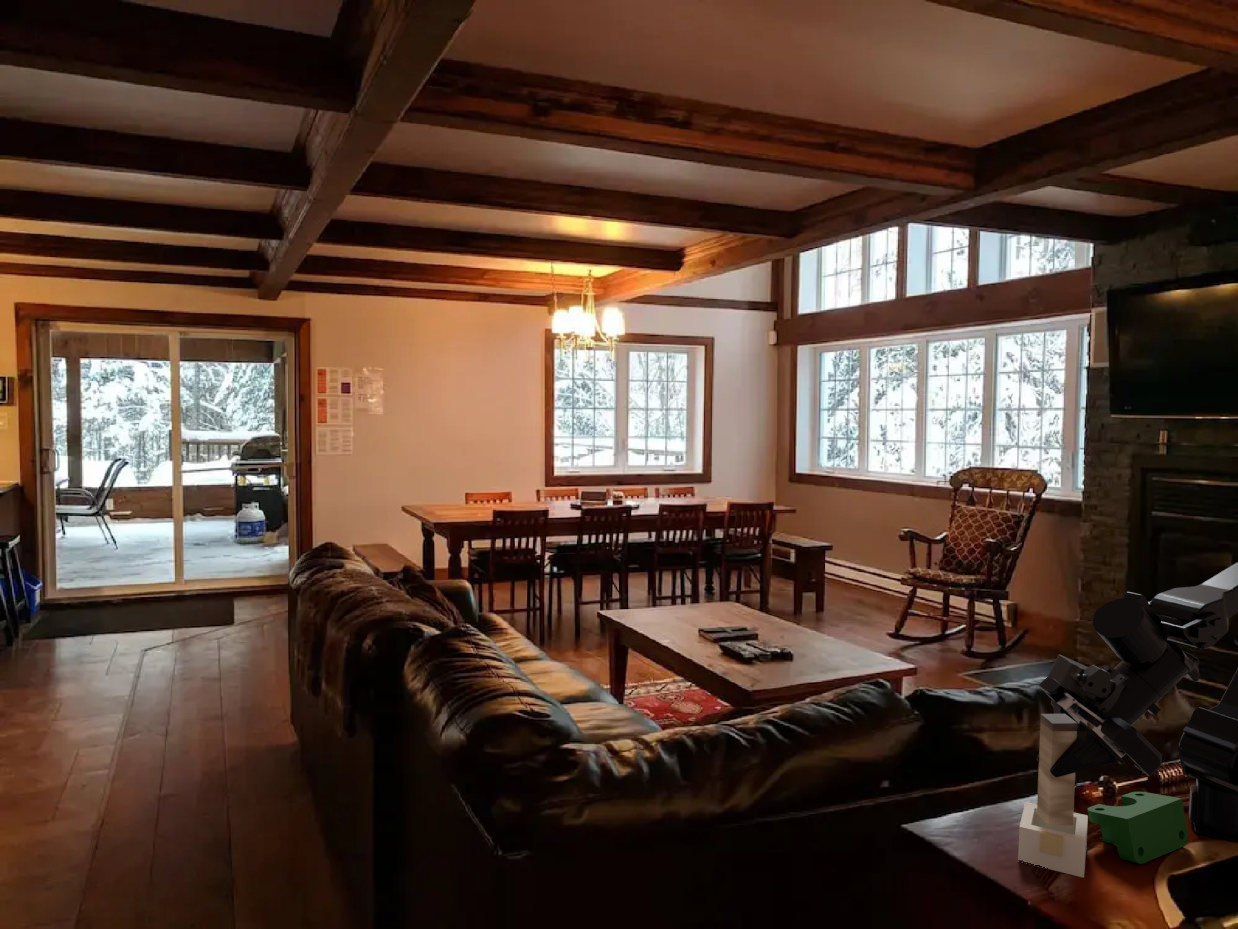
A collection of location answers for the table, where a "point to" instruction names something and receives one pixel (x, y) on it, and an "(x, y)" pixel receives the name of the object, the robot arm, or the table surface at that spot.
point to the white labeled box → (1053, 842)
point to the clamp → (1142, 825)
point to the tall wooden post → (1052, 790)
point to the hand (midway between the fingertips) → (1045, 768)
